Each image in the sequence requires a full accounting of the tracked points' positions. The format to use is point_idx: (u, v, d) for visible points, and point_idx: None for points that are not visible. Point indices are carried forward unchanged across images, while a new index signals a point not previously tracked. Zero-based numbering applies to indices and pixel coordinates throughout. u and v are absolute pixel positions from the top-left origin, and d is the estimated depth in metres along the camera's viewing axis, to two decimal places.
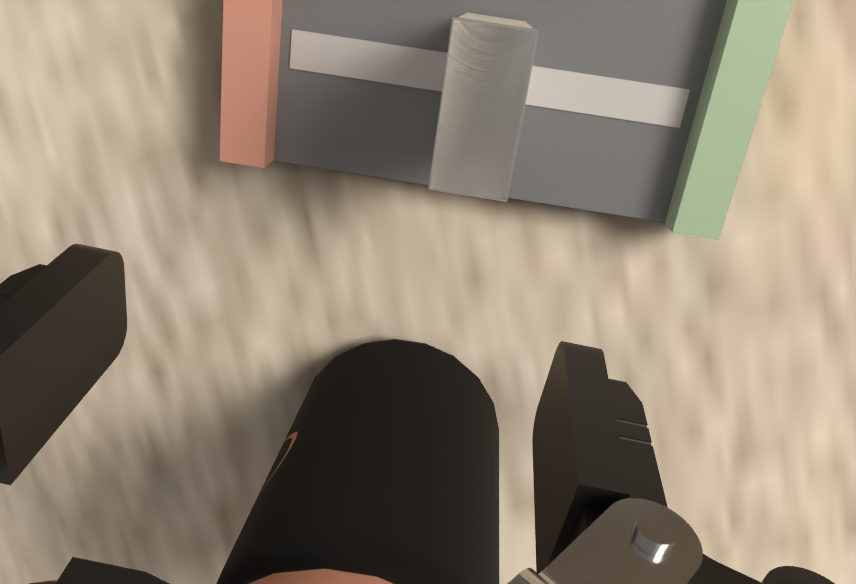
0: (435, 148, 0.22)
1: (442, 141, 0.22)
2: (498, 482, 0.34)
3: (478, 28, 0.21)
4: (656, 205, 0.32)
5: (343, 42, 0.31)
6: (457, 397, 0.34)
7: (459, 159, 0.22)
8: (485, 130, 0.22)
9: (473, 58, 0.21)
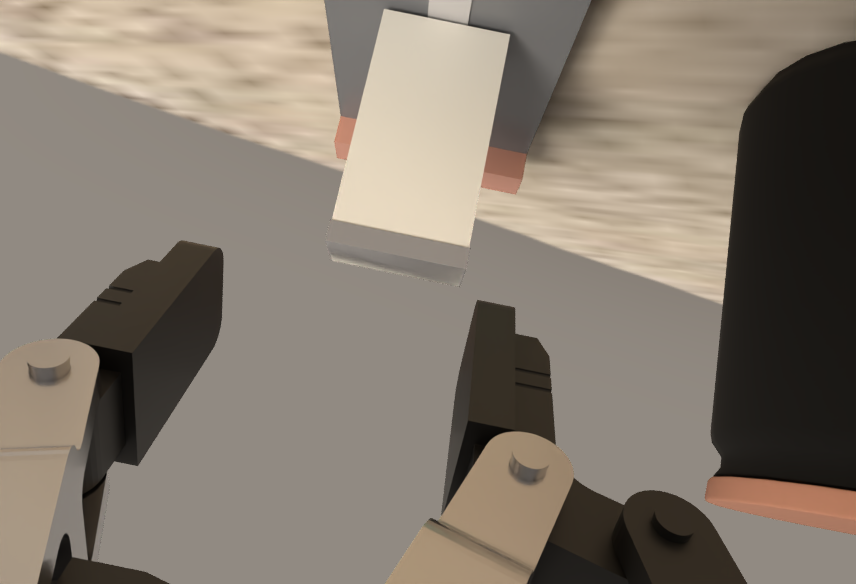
0: None
1: (420, 277, 0.28)
2: None
3: (334, 255, 0.27)
4: None
5: None
6: (797, 152, 0.27)
7: (433, 275, 0.27)
8: (408, 265, 0.26)
9: (355, 260, 0.27)
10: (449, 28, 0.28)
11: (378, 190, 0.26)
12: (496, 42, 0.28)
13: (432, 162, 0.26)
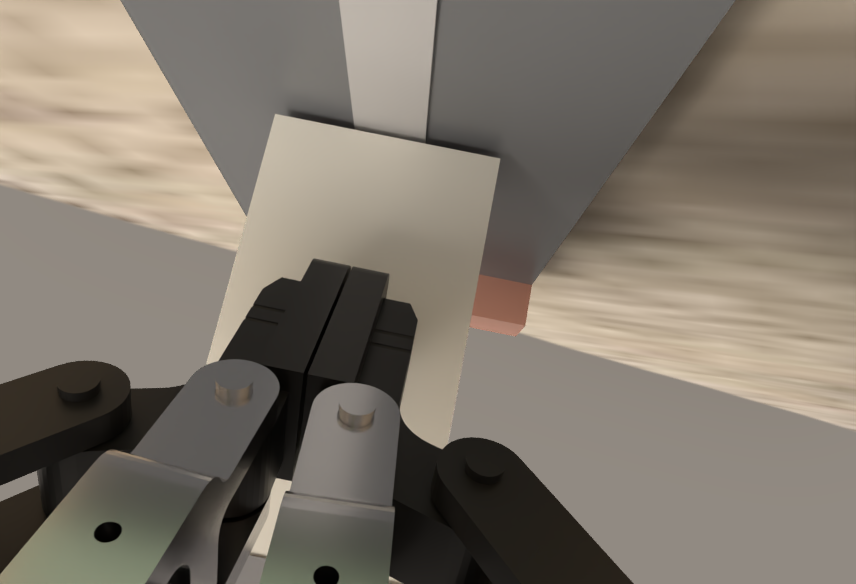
0: None
1: None
2: None
3: None
4: None
5: None
6: None
7: None
8: None
9: None
10: (391, 148, 0.16)
11: None
12: (475, 173, 0.15)
13: None
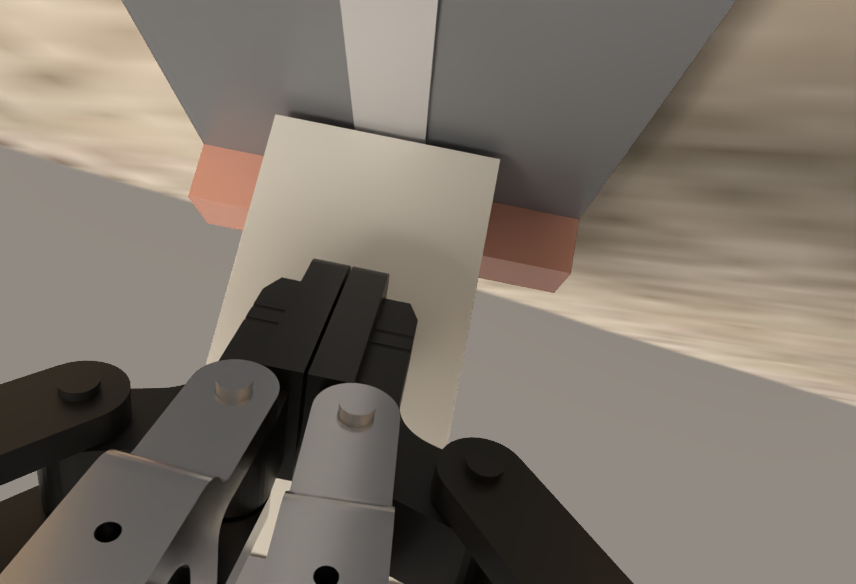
0: None
1: None
2: None
3: None
4: None
5: (366, 128, 0.16)
6: None
7: None
8: None
9: None
10: (391, 149, 0.16)
11: None
12: (474, 174, 0.16)
13: None
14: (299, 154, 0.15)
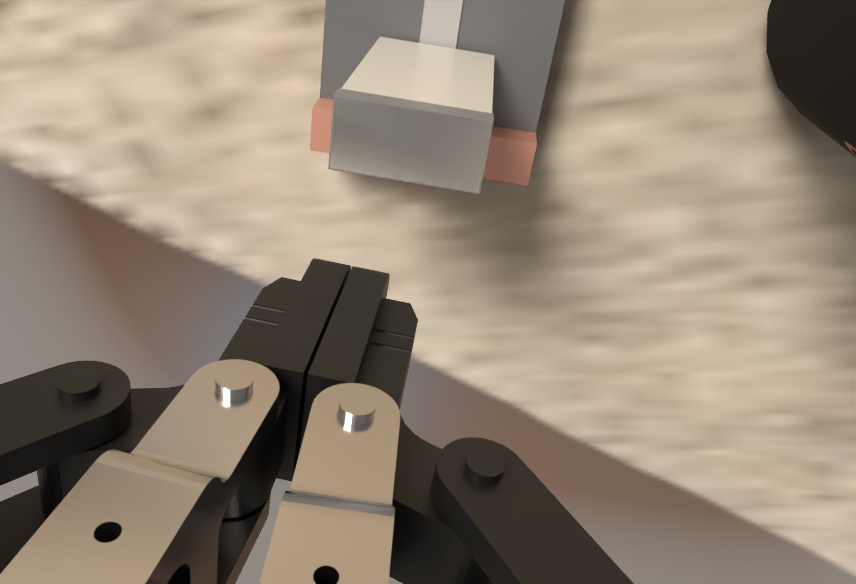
0: (440, 186, 0.24)
1: (434, 180, 0.24)
2: None
3: (335, 147, 0.23)
4: None
5: None
6: None
7: (450, 165, 0.23)
8: (424, 141, 0.23)
9: (360, 151, 0.23)
10: (439, 47, 0.31)
11: (388, 85, 0.25)
12: (483, 55, 0.31)
13: (440, 82, 0.26)
14: (394, 43, 0.30)
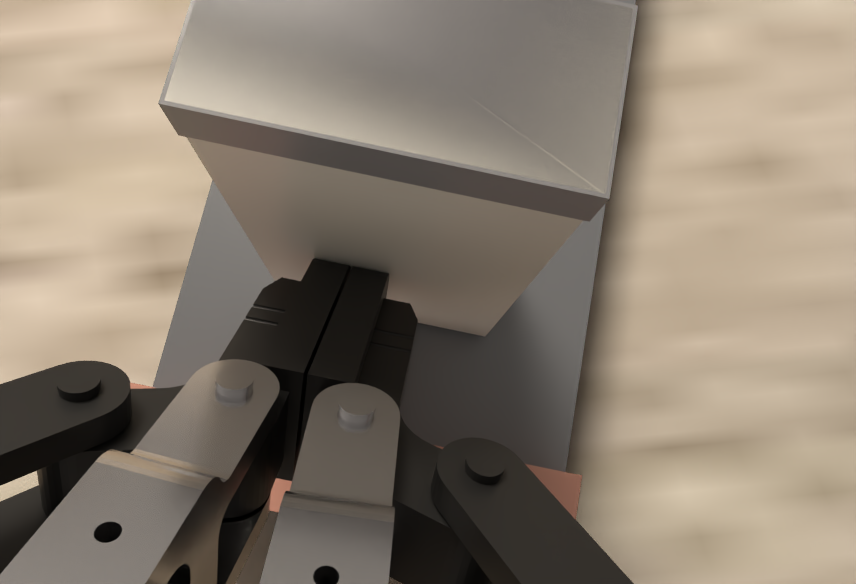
0: (494, 170, 0.08)
1: (476, 151, 0.08)
2: None
3: (194, 44, 0.08)
4: None
5: None
6: None
7: (525, 112, 0.08)
8: (452, 45, 0.08)
9: (265, 60, 0.08)
10: None
11: None
12: None
13: None
14: None
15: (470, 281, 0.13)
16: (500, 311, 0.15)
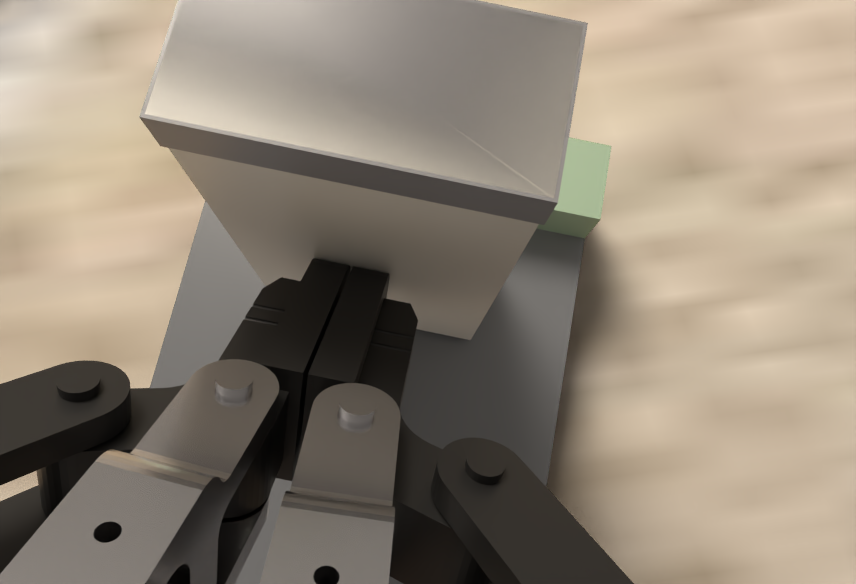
0: (450, 177, 0.09)
1: (433, 160, 0.09)
2: None
3: (173, 63, 0.09)
4: (555, 253, 0.19)
5: None
6: None
7: (480, 122, 0.09)
8: (412, 60, 0.09)
9: (238, 77, 0.09)
10: None
11: None
12: None
13: None
14: None
15: (447, 284, 0.13)
16: (480, 314, 0.15)
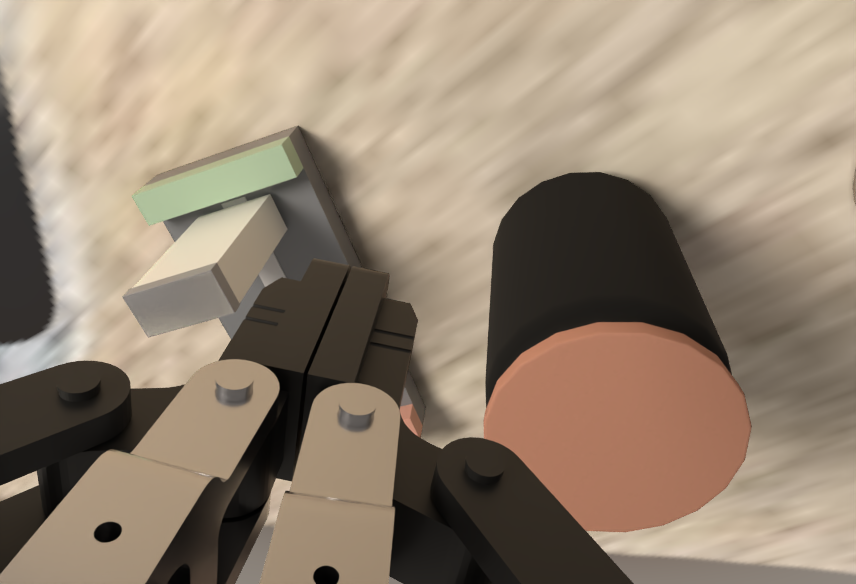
0: (211, 319, 0.36)
1: (205, 317, 0.36)
2: (542, 215, 0.38)
3: (143, 324, 0.36)
4: (296, 180, 0.42)
5: None
6: (493, 264, 0.41)
7: (207, 304, 0.35)
8: (184, 299, 0.35)
9: (156, 320, 0.36)
10: (234, 206, 0.43)
11: (166, 268, 0.37)
12: (260, 199, 0.42)
13: (205, 247, 0.38)
14: (203, 219, 0.43)
15: None
16: (271, 251, 0.41)
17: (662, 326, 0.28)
